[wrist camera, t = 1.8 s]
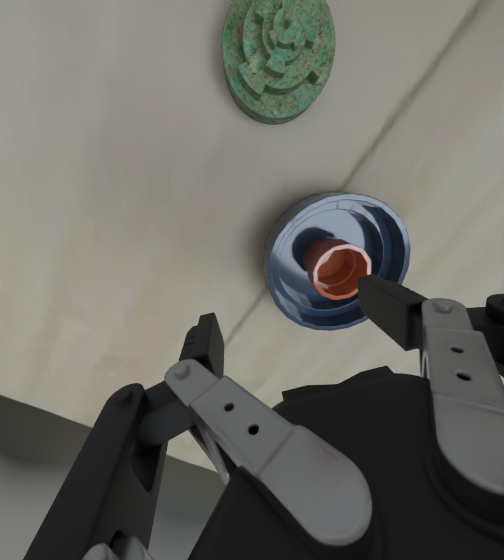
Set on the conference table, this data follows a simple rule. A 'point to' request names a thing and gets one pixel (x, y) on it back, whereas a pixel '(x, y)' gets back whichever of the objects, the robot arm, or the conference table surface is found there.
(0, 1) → the conference table surface
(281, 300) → the large bowl
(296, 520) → the robot arm
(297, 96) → the decorative artifact
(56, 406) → the conference table surface
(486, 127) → the conference table surface
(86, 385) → the conference table surface
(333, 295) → the small bowl
